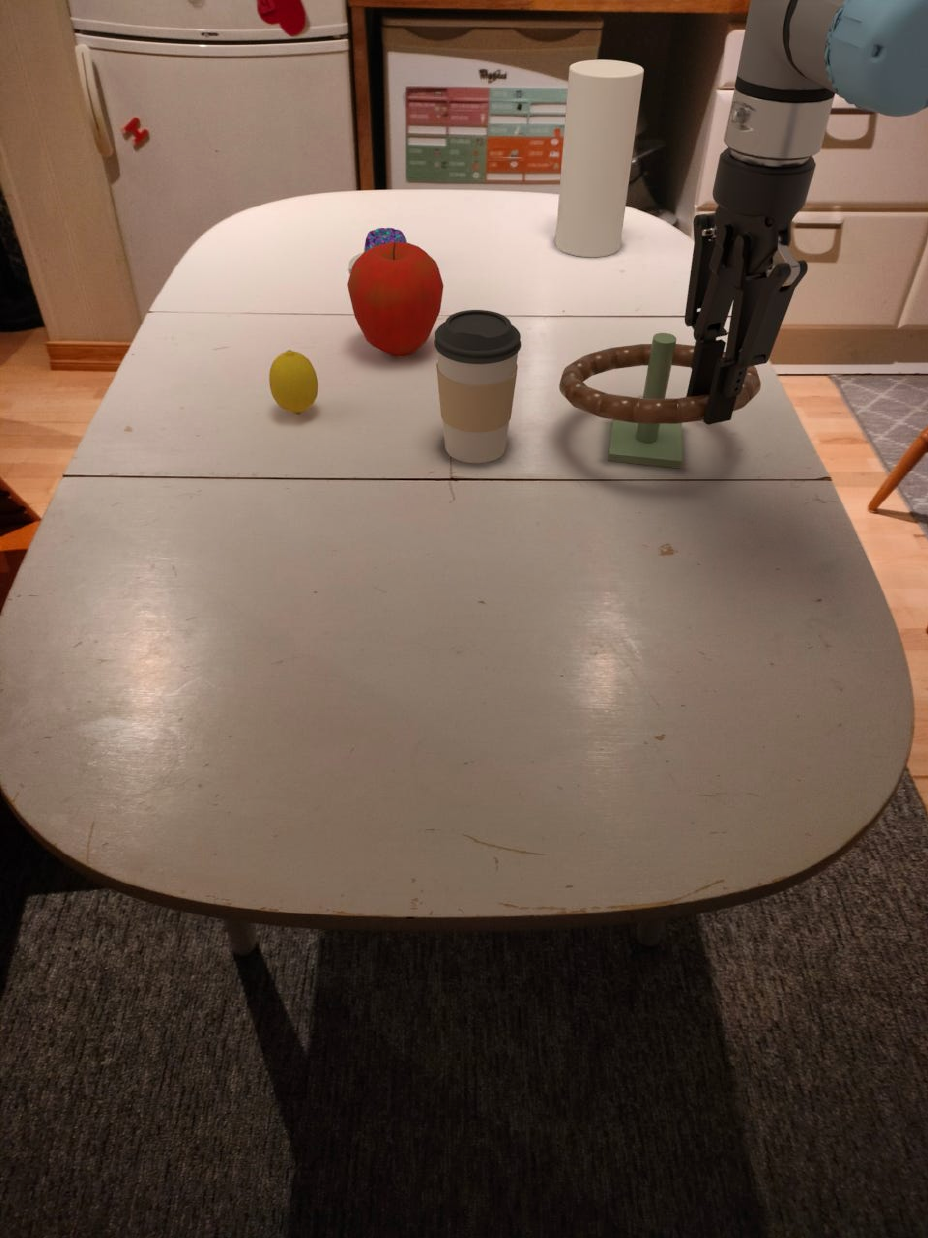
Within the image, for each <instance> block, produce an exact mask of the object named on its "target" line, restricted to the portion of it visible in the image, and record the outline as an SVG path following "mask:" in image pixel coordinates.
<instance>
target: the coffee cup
mask: <svg viewBox="0 0 928 1238" xmlns="http://www.w3.org/2000/svg"><path fill="white" fill-rule="evenodd" d="M521 339H522V335H521V332H520V331H519V329H518V327H516V326H515V325H514V324H512V322H511V320H510V319H509V318H508V317H507V316H505V315H503V314H501V313H498V312H496V311H492V310H486V309H467V310H461V311H458V312H455V313H454V314H450V315H449V316H448V317H447V318H446V319H445V321H444V322H442V323H441V324H439V326H438V327H437V328H436V329H435V331H434V340H433V341H434V342H433V346H434V348H435V350H436V359H437V360H436V361H437V362H436V377H437V388H438V399H439V408H440V409H439V410H440V411H439V412H440V416H441V417H440V418H441V420H442V426H443V438H444V449H445V451H446V453H447V455H448V456H450V457H451V458H453V459H455V460H457V461H459V462H462V463H467V464H487V463H490V462H493V461H496V460H497V459H499V458H501V457H502V456H503V455H504V454H505V452H506V449H507V441H508V433H509V426H510V421H511V419H512V414H513V413H512V412H513V407H514V406H513V405H514V399H515V398H514V397H515V390H516V382H517V377H518V369H519V368H518V359H519V352H520V350H521V348H522V341H521Z"/></svg>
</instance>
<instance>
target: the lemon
mask: <svg viewBox="0 0 928 1238" xmlns="http://www.w3.org/2000/svg"><path fill="white" fill-rule="evenodd" d="M314 367H315V366H314V365H313V363H312V362H311V360H310V359H309V358H308V357H306V356H305V355H304V354H303V353H300V352H298V351H293V350H292V349H288V350H286V351H285V352H282V353H281V354H279V355H277V356H276V358H275V359H274V360H273V361H272V363H271V365H270V369H269V375H268V383H269V390H270V393H271V396H272V398H273V400H274V401H275V403H276V404H277V405H278V406H279V407H280V408H281V409H283V410H285V411H287V412H289V413H293V414H295V415H300V414H302V412H305V411H307V410H308V409H310V408H311V407H312V406H313V405H314V403H315V402H316V400H317V397H318V393H319V381H318V380H319V379H318V375H317V372H316V369H315V368H314Z"/></svg>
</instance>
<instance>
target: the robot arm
mask: <svg viewBox="0 0 928 1238" xmlns="http://www.w3.org/2000/svg"><path fill="white" fill-rule="evenodd" d="M744 29H745V30H744V34H743V40H742V46H741V50H740V55H739V61H738V66H737V71H736V76H735V77H736V78H735V82H734V89H733V94H732V98H731V103H730V108H729V113H728V117H727V122H726V127H725V133H724V137H723V143H724V144H725V145H726V148H725V149H724V150H723V151H722V152H721V153H720V154H719V158H718V162H717V167H716V168H717V169H716V174H715V177H714V182H713V183H714V184H713V189H712V199H713V201H714V202H715V203H716V204H717V207H716V208H715V210H714V212H707V213H700V214H696V215H695V216H694V217H693V220H692V221H693V222H692V223H693V224H692V225H693V241H694V243H693V252H692V260H691V266H690V267H691V268H690V274H689V281H688V290H687V297H686V305H685V312H684V324H685V326H687V327H691V328H692V330H693V338H694V340H695V342H694V343H695V344H694V346H695V347H694V352H693V353H694V354H693V358H692V362H691V368H690V369H691V373H690V377H689V382H688V387H687V391H686V396H685V397H691V396H699V395H706V394H709V398H708V402H707V406H706V411H705V415H704V419H703V420H702V422H703V423H704V424H705V425H707V426H711V425H714V424H718V423H722V422H727V421H731V420H732V416H733V412H734V411H733V409H734V405H735V401H736V398H737V395H739V394H740V393H741V391H742V388H743V384H744V380H745V376H746V372H747V369H748V367H750V366H755V367H756V366H760V365H764V364H767V363H768V362H769V360H770V357H771V354H772V353H773V352H772V351H773V350H774V347H775V344H776V341H777V338H778V335H779V333H780V330H781V328H782V325H783V322H784V320H785V318H786V317H785V316H786V314H787V311H788V308H789V306H790V303H791V301H792V298H793V295H794V292H795V290H796V288H797V287H798V285H799V284H800V283H801V281H802V280H803V279H804V277H805V276H806V274H807V272H808V270H809V266H808V265H809V264H808V263H807V261H806V260H804V259H801V260H796V258H795V257H794V255H793V253H792V252H791V250H790V245H791V240H792V232H791V231H792V230H791V228H792V222H793V219H794V218H795V216H796V215H797V214H798V213H799V212H800V211H801V210H802V209H803V208H804V207H805V205H806V202H807V199H808V195H809V191H810V189H811V185H812V184H811V183H812V182H813V181H812V180H813V177H814V174H815V170H816V166H817V163H816V162H815V158H813V157H814V156H815V155H817V154H818V153H820V152H821V149H822V147H823V143H824V139H825V134H826V130H827V127H828V124H829V119H830V116H831V112H832V108H833V105H834V100H835V96H836V95H838V97H840V99H843V100H844V101H845V103H847V104H848V105H853V106H855V108H857V109H858V110H860V111H864V112H868V113H871V112H872V113H873V112H874V113H876V114H880V115H882V116H885V117H890V118H891V117H892V118H903V117H910V116H913V115H916V114H918V113H920V112H921V111H924V110H926V109H927V108H928V0H750V2H749V8H748V14H747V18H746V23H745V28H744ZM698 309H699V311H698ZM730 311H731V313H730ZM729 314H730V318H729V326H728V330H726V328H725V326H726V323H727V320H728V317H729ZM726 336H727V338H726V341H725V340H723V339H722V338H721V337H726ZM717 338H721V339H717ZM724 352H725V357H723V354H724Z"/></svg>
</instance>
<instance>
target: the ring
mask: <svg viewBox="0 0 928 1238" xmlns="http://www.w3.org/2000/svg"><path fill="white" fill-rule="evenodd" d="M651 346H652V343H639V344H632V345H623V346H616V347H609V348H605V349H601V350H598V351H595V352H592V353H588V354H585V355H583V356H581V357H579V358H577V359H576V360H575V361H573V362H572V363H570V364H568V365H566V366H565V367H564V369H563V371H562V374H561V377H560V380H559V385H558V389H559V392H560V394H561V395H562V396H563V397H564V398H565V399H566V400H567V401H568V402H569V403H570V404H571V406H573V407H574V408H575V409H578V410H580V411H583V412H586V413H588V414H590V415H593V416H596V417H599V418H601V419H607V420H612V419H613V420H619V421H625V422H632V423H655V424H678V423H682V424H685V423H692V422H698V421H703V419H704V415H705V411H706V406H707V402H708V398H709V394H706V395H699V396H691V397H686V396H685V397H678V398H665V399H659V398H643V397H641V398H639V397H635V396H634V397H633V396H625V395H620V394H612V393H607V392H605V391H603V390H599V389H595V388H593V387H590V386H588V385H587V384H585V383H584V382H585V381H586V380H588V379H590V378H591V377H593V376H596V375H599V374H602V373H606V372H609V371H612V370H619V369H625V368H626V369H627V368H634V367H642V366H646V367H648V363H649V358H650V352H651ZM694 347H695V345H692V344H681V343H676V345H675V350H674V355H673V360H672V365H671V366H675V367H682V368H690V369H691V362H692V358H693V354H694V353H693V352H694ZM725 352H726V351H724V354H723V357H725ZM761 385H762V383H761V379H760V376H759V372H758V370H757V367H756V365H755V366H750V367H748V369H747V372H746V376H745V380H744V384H743V388H742V391H741V393H740V394H739V395H737V398H736V401H735V405H734V409H733V412H736V411H739V410H741V409H743V408H745V407H746V406H747V405H748V404H749V403H750V402H751V401H752V400H753V399H754V398H755V397H756V396H757V395H758V394H759V392H760V391H761V387H762V386H761Z"/></svg>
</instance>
